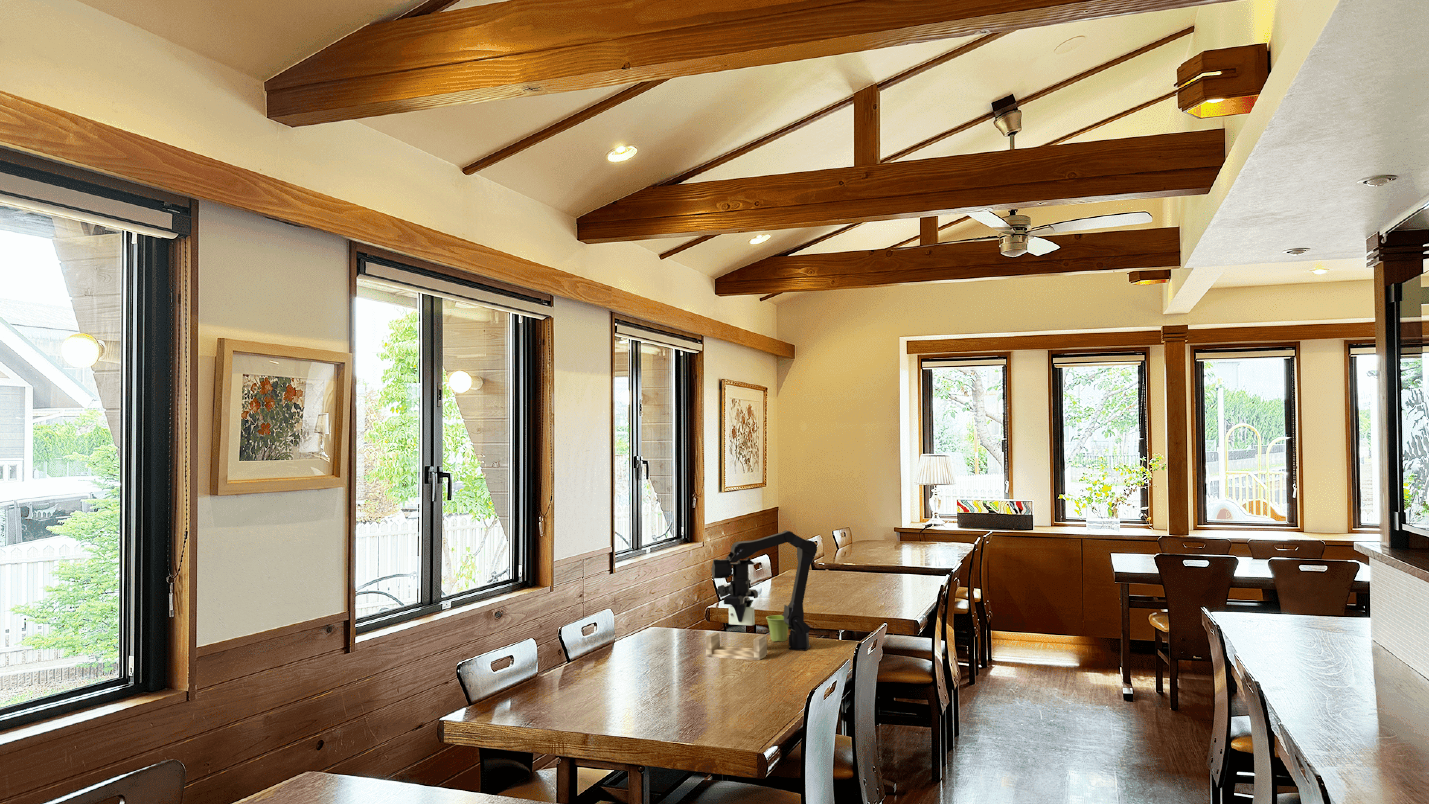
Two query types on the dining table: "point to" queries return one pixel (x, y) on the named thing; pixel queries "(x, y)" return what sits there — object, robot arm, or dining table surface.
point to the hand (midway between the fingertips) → (741, 621)
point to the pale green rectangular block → (747, 618)
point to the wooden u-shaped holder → (736, 648)
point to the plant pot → (777, 628)
